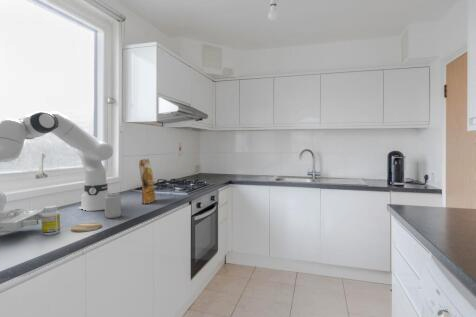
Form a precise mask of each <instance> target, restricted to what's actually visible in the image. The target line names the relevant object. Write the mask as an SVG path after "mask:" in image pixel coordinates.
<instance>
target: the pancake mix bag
mask: <svg viewBox="0 0 476 317" xmlns="http://www.w3.org/2000/svg"><path fill="white" fill-rule="evenodd" d="M138 162H139V163H138V166H139V172H140V181H141V184H142V185H141V186H142V187H141V192H142V193H141V204H142V203H149V202H151V201H153V200H155V199H156V198H157V197H156V193H155V184H154V176H153V169H152V165H151V162H150V159H149V158H147V159H145V158H144V159H140V160H139V161H138ZM156 200H157V199H156ZM149 204H150V203H149Z"/></svg>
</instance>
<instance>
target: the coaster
mask: <svg viewBox="0 0 476 317" xmlns="http://www.w3.org/2000/svg"><path fill="white" fill-rule="evenodd" d="M102 227H103V224H102V223H101V222H85V223H80V224H75V225H73V226H71V228H70V231H71V232H73V233H85V232H86V233H87V232H93V231H96V230H99V229H101V228H102Z"/></svg>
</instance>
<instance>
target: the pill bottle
mask: <svg viewBox="0 0 476 317" xmlns="http://www.w3.org/2000/svg"><path fill="white" fill-rule="evenodd" d="M60 218H61V217H60V212H59V210H58V206H57V205H47V206H44V207H43V214H42V219H41V230H42V231H41V232H42V235H44V236H53V235H55V234H58V233H61V219H60Z"/></svg>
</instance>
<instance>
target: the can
mask: <svg viewBox="0 0 476 317" xmlns="http://www.w3.org/2000/svg"><path fill="white" fill-rule="evenodd" d="M121 199H122V197H121V195H120V193H119V192H111V193H110V192H109V194H106V196H105V209H104V216H105V217H106V219H116V218H119V217H120V216H121V215H122V204H121V202H122V201H121Z"/></svg>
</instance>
